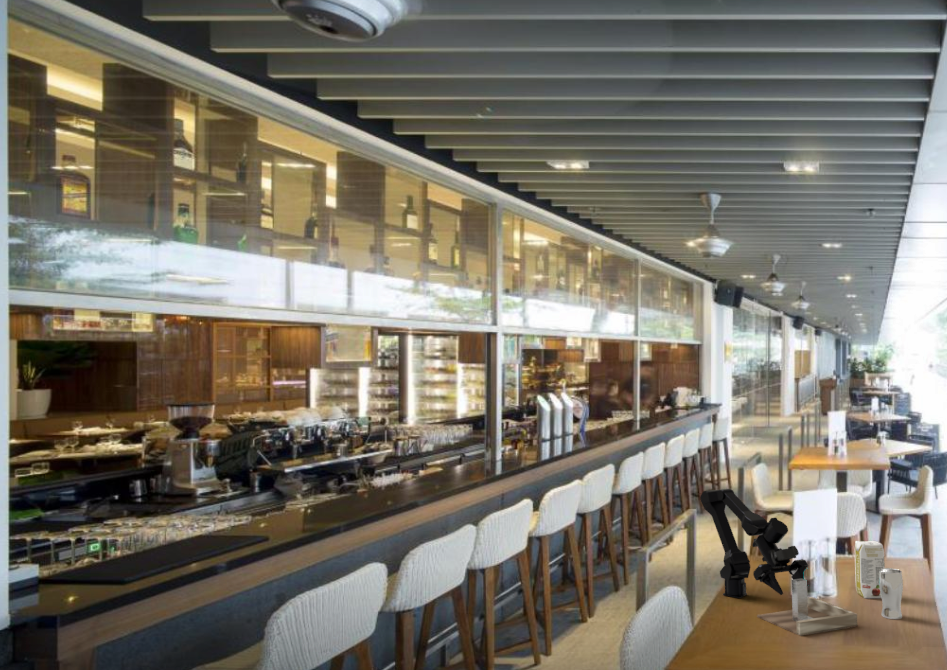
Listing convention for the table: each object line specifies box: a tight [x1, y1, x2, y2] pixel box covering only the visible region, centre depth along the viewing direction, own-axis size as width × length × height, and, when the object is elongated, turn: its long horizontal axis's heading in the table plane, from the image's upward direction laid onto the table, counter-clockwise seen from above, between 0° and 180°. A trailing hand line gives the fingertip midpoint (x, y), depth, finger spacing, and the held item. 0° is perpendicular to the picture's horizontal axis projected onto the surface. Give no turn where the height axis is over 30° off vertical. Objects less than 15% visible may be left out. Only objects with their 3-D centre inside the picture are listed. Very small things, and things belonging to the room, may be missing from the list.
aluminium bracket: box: [791, 578, 814, 621], centre depth 263 cm, size 6×4×13 cm, turn 20°
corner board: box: [756, 596, 858, 637], centre depth 266 cm, size 20×22×4 cm
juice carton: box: [854, 540, 886, 599], centre depth 292 cm, size 8×9×19 cm
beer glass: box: [879, 567, 904, 620], centre depth 269 cm, size 7×7×15 cm
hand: (793, 592), depth 268 cm, fingers open, 9 cm apart
